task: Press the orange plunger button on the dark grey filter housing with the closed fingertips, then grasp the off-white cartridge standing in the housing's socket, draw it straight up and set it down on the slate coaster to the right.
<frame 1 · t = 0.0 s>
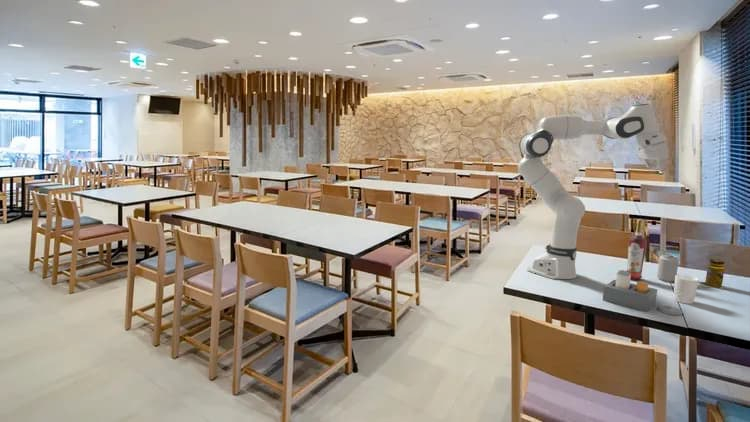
hand: (655, 168, 199), 52 cm above the table, tool tilted 20°, fingers open, 8 cm apart
liquor: (633, 279, 207), on the table
coaster: (669, 311, 169), on the table
cartridge: (620, 299, 180), resting in housing
button: (641, 288, 174), point 7 cm above the table, slide at 0.0 cm
can: (666, 280, 206), on the table
housing: (628, 301, 178), on the table
condiment: (710, 285, 199), on the table
white cup: (683, 301, 180), on the table
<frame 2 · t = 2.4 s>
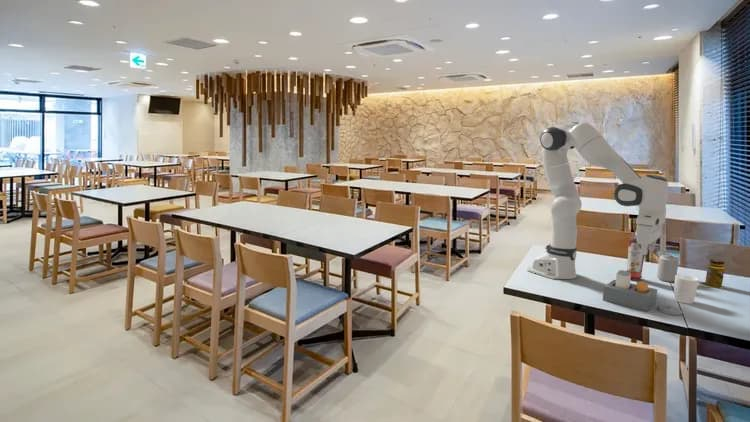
hand: (647, 252, 171), 22 cm above the table, tool pointing down, fingers open, 8 cm apart
nothing on the table moved.
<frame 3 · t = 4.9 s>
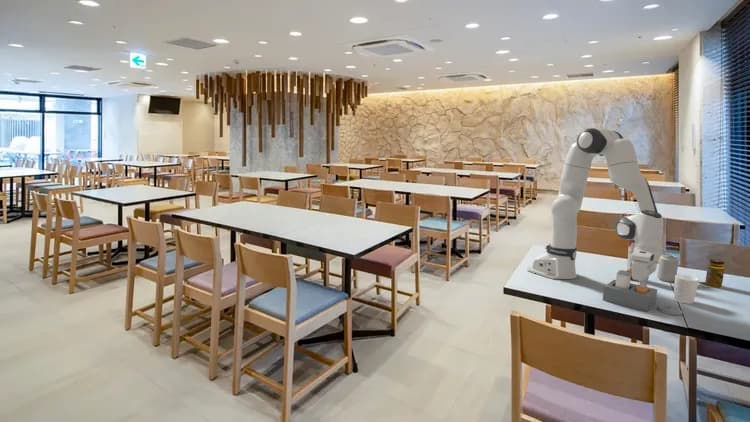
hand: (643, 286, 174), 8 cm above the table, tool pointing down, fingers closed, pressing on button
button: (641, 291, 174), point 5 cm above the table, slide at 1.4 cm, touching gripper
everything else where it was.
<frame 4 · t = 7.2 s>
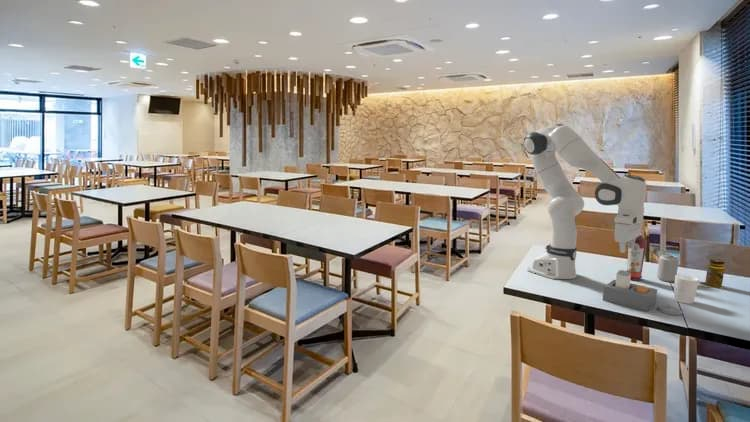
hand: (626, 250, 176), 21 cm above the table, tool pointing down, fingers open, 8 cm apart
button: (641, 292, 174), point 5 cm above the table, slide at 1.6 cm
everything else where it was.
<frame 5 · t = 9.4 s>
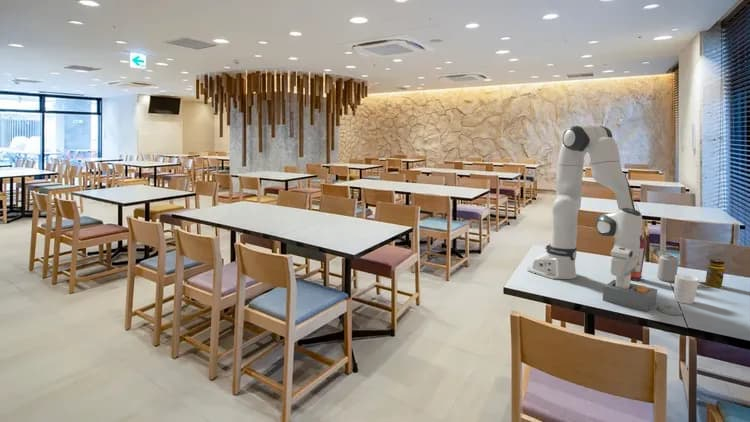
hand: (622, 282, 179), 8 cm above the table, tool pointing down, fingers closed on cartridge, 5 cm apart
cartridge: (620, 299, 180), resting in housing, touching gripper
everything else where it was.
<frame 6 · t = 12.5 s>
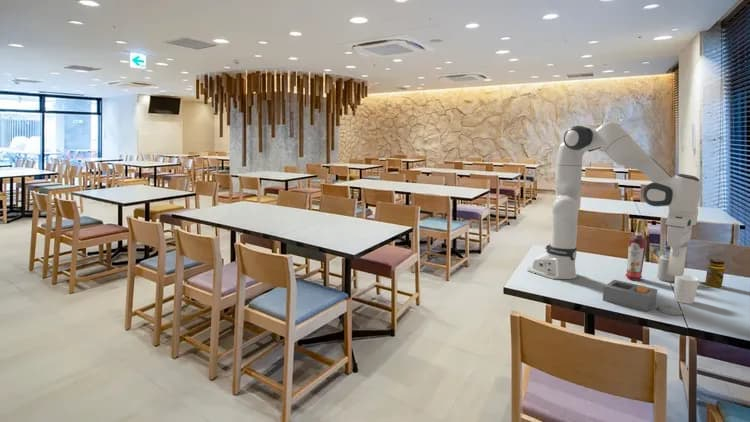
hand: (677, 254, 165), 22 cm above the table, tool pointing down, fingers closed on cartridge, 5 cm apart
cartridge: (675, 274, 166), point 15 cm above the table, touching gripper
everything else where it was.
when the fingers open (10 cm above the table, at t = 15.6 s): cartridge drops 1 cm, resting on coaster.
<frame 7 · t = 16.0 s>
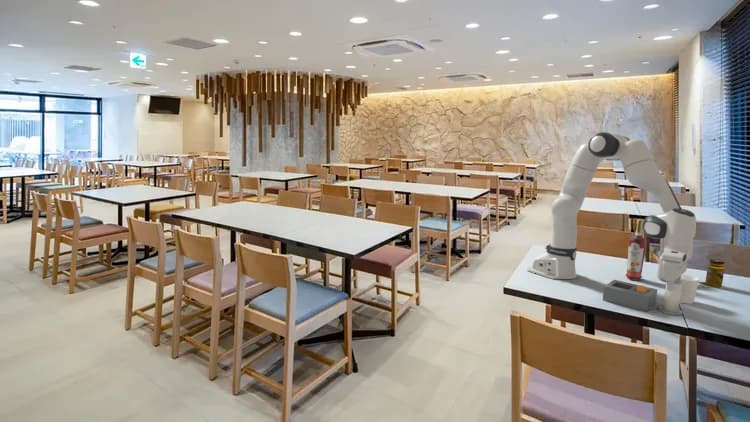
hand: (673, 287, 167), 10 cm above the table, tool pointing down, fingers open, 8 cm apart
cartridge: (670, 309, 169), point 1 cm above the table, touching coaster
everything else where it was.
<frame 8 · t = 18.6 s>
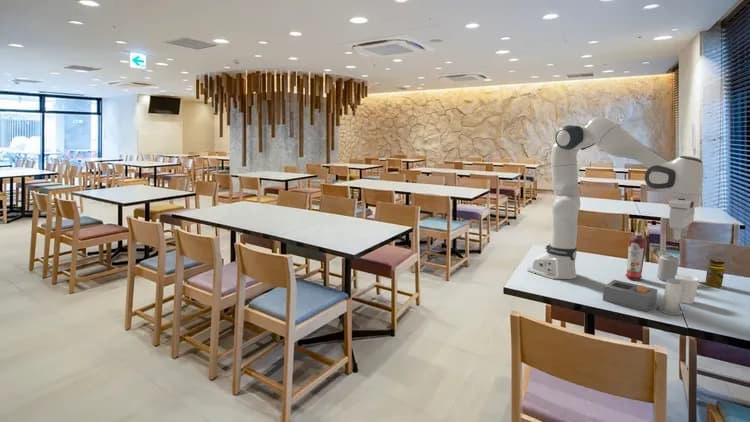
hand: (679, 237, 164), 29 cm above the table, tool pointing down, fingers open, 8 cm apart
nothing on the table moved.
at the end: button slide at 1.6 cm; cartridge inside the target area on the coaster (0.1 cm from its centre), point 0.6 cm above the coaster's base; cartridge tilted 0° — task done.
